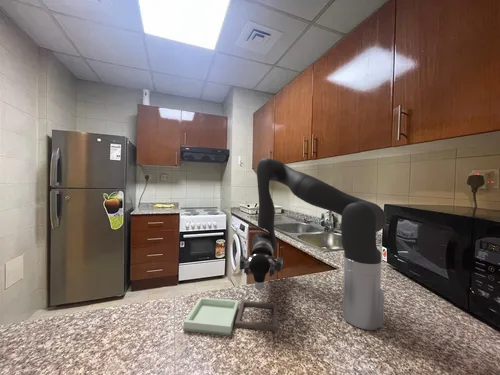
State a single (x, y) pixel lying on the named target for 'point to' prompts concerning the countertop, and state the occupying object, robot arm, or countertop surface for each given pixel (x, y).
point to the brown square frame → (255, 324)
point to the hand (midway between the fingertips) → (259, 272)
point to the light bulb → (259, 269)
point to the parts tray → (212, 316)
